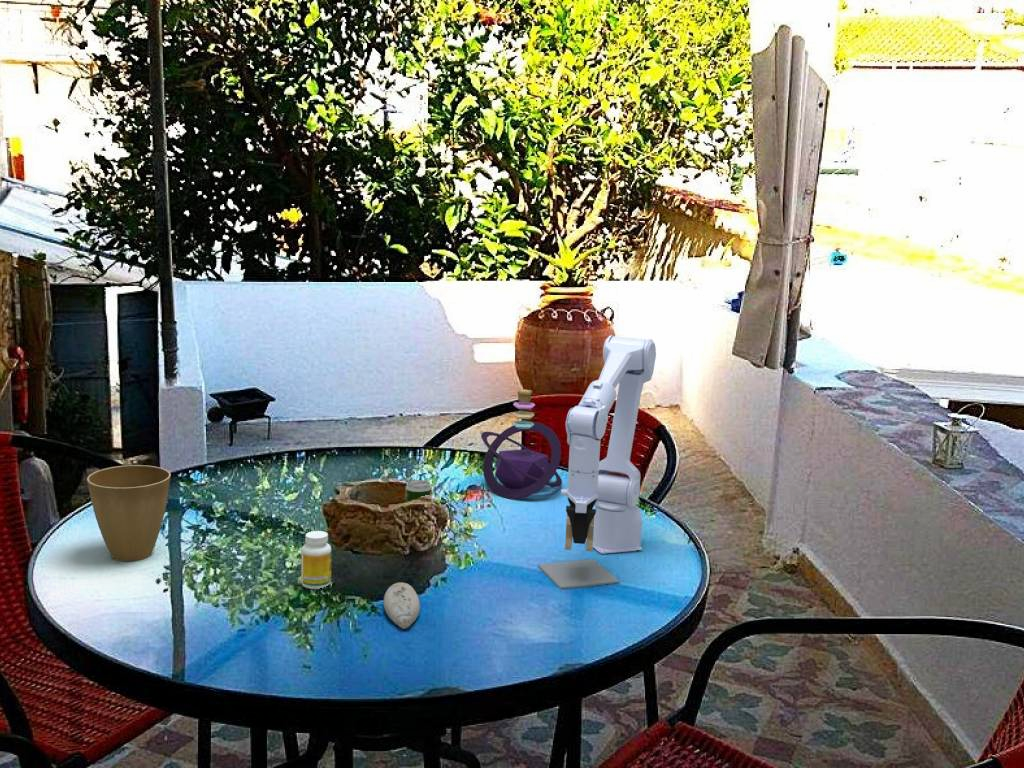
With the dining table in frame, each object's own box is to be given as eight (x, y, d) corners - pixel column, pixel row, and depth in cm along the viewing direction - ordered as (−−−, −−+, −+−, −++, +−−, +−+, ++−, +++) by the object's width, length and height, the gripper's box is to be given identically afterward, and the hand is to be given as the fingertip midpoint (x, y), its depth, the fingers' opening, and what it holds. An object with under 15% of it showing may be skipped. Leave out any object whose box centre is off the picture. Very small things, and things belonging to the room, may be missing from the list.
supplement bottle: (298, 581, 183) (298, 531, 181) (326, 577, 185) (327, 528, 183) (305, 591, 178) (305, 540, 176) (334, 587, 180) (335, 537, 179)
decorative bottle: (459, 489, 245) (462, 389, 240) (507, 472, 262) (511, 379, 258) (534, 507, 233) (539, 403, 228) (580, 488, 250) (586, 391, 245)
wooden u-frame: (566, 540, 193) (567, 509, 192) (592, 542, 193) (594, 511, 192) (564, 549, 188) (566, 518, 187) (592, 551, 188) (594, 520, 187)
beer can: (411, 544, 204) (413, 488, 202) (399, 536, 209) (400, 481, 207) (434, 540, 207) (436, 485, 205) (422, 532, 212) (423, 478, 210)
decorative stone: (388, 634, 163) (388, 614, 162) (380, 596, 178) (380, 578, 177) (425, 632, 164) (425, 612, 164) (414, 595, 179) (414, 577, 178)
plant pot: (76, 553, 192) (73, 473, 189) (149, 536, 202) (147, 461, 200) (112, 575, 182) (109, 491, 179) (186, 556, 193) (185, 477, 190)
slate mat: (593, 561, 199) (593, 559, 199) (619, 583, 188) (619, 581, 188) (537, 566, 195) (537, 564, 195) (560, 589, 184) (560, 587, 184)
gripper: (564, 458, 195) (560, 524, 198) (560, 478, 181) (556, 549, 183) (600, 460, 195) (596, 527, 197) (599, 480, 180) (595, 552, 183)
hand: (579, 538), depth 190 cm, fingers closed on wooden u-frame, 5 cm apart
